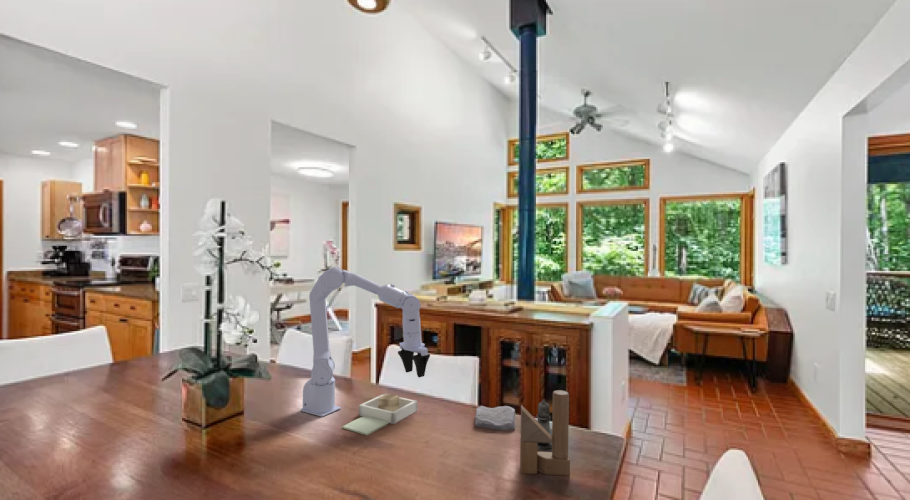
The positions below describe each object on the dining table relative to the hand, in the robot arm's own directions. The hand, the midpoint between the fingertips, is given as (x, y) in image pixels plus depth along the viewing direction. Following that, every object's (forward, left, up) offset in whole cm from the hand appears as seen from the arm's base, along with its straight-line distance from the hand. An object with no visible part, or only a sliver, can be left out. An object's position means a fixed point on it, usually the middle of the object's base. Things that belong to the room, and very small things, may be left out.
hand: (414, 374), depth 136 cm
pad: (-2, -21, -10) cm, 23 cm away
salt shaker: (+45, -7, -10) cm, 46 cm away
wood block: (-3, -10, -10) cm, 14 cm away
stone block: (+29, 0, -10) cm, 30 cm away
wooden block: (+49, -19, -10) cm, 53 cm away
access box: (-3, -10, -10) cm, 14 cm away
